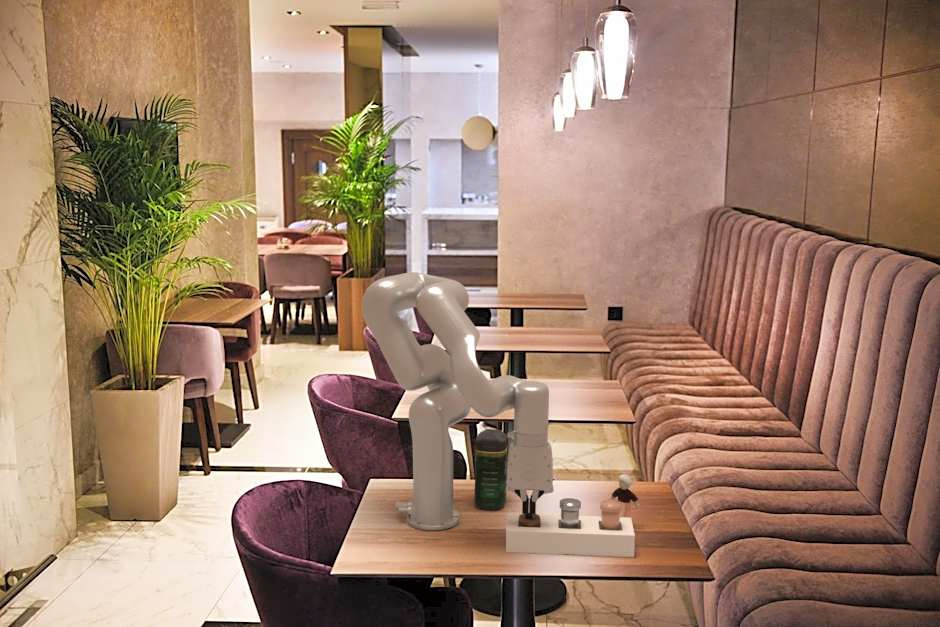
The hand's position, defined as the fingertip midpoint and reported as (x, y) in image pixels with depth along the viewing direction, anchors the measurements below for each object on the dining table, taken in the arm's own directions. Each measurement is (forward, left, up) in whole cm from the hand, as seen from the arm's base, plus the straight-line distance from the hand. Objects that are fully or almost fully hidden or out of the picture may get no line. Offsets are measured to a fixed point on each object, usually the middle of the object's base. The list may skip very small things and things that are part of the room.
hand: (528, 516), depth 216 cm
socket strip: (+9, 0, -7) cm, 11 cm away
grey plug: (+9, 0, -2) cm, 9 cm away
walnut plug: (0, 0, -6) cm, 6 cm away
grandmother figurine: (+22, +12, -7) cm, 26 cm away
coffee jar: (-10, +23, -7) cm, 26 cm away
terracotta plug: (+18, 0, -2) cm, 18 cm away
